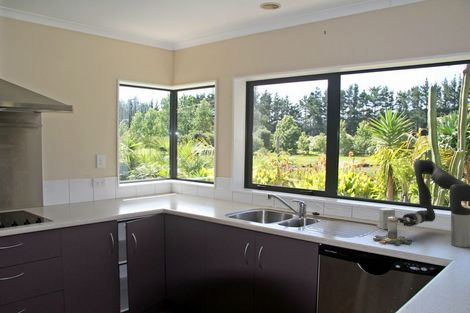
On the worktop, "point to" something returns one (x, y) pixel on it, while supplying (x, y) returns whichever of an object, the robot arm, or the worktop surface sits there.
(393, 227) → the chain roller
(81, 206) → the worktop surface
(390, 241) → the sprocket plate
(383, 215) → the small box
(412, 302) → the worktop surface
